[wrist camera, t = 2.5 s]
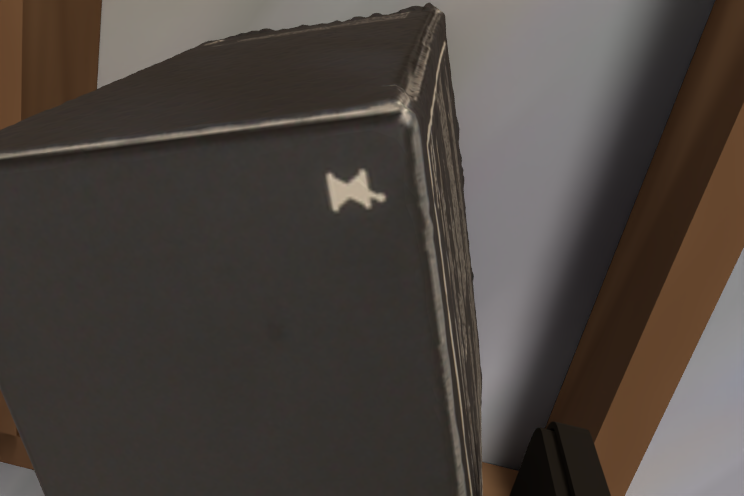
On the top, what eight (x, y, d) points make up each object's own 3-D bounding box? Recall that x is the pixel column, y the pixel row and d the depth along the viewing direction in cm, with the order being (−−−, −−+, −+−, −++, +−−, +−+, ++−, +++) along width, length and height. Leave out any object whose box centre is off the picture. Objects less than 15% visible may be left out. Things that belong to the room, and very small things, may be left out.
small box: (182, 39, 18) (-141, 154, 8) (446, -1, 17) (438, 74, 7) (270, 396, 22) (124, 760, 12) (486, 381, 21) (517, 764, 11)
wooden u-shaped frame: (882, -253, 14) (1010, -312, 11) (555, 506, 22) (573, 603, 19) (67, -447, 14) (-46, -563, 11) (41, 380, 22) (-28, 454, 19)
